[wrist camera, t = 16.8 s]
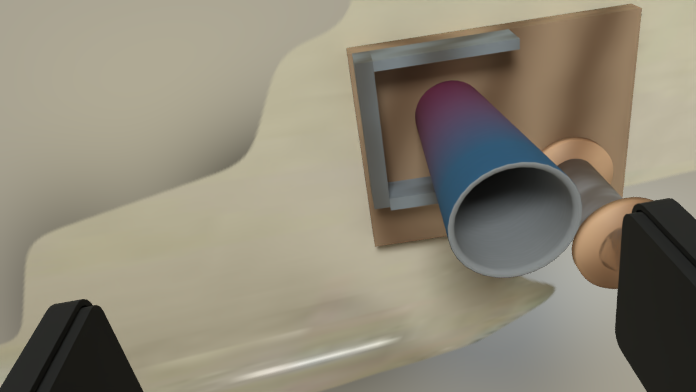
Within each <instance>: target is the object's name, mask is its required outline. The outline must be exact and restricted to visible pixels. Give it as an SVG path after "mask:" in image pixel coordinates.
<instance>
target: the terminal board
mask: <svg viewBox="0 0 696 392" xmlns="http://www.w3.org/2000/svg"><path fill="white" fill-rule="evenodd" d="M641 11H642V8H640V7H637V6H635V5H633V4H627V5H621V6H614V7H608V8H601V9H595V10H589V11H582V12H576V13H569V14H563V15H557V16H550V17H544V18H537V19H531V20H524V21H518V22H512V23H505V24H499V25H492V26H486V27H480V28H473V29H467V30H460V31H454V32H447V33H441V34H435V35H428V36H422V37H415V38H409V39H403V40H396V41H390V42H383V43H377V44H370V45H364V46H358V47H351V48H347V55H348V62H349V69H350V76H351V83H352V90H353V97H354V104H355V111H356V118H357V125H358V132H359V138H360V145H361V152H362V159H363V166H364V173H365V180H366V187H367V194H368V201H369V208H370V215H371V222H372V229H373V236H374V242H375V247H376V246H383V245H390V244H396V243H403V242H410V241H417V240H424V239H430V238H437V237H444V236H447V233H446V229H445V226H444V222H443V219H442V215H441V212H440V208H439V204H438V201H437V197H436V194H435V190H434V187H433V183H432V180H431V176H430V172H429V169H428V165H427V162H426V158H425V155H424V151H423V147H422V144H421V140H420V137H419V133H418V130H417V126H416V122H415V111H416V107H417V104H418V102H419V100H420V98H421V97H422V96H423V95H424V93H425V92H426V91H427V90H429V89H430V88H431V87H433V86H434V85H436V84H438V83H441V82H444V81H450V80H458V81H462V82H465V83H467V84H470V85H471V86H472V87H474V88H475V89H476V90H477V91H478V92H479V93H480V94H481V95H482V96H484V97H485V98H486V99H487V100H488V101H489V102H490V103H491V104H492V105H493V106H494V107H495V108H496V109H497V110H498V111H499V112H500V113H502V114H503V115H504V116H505V117H506V118H507V119H508V120H509V121H510V122H511V123H512V124H513V125H514V126H515V127H516V128H517V129H519V130H520V131H521V132H522V133H523V134H524V135H525V136H526V137H527V138H528V139H529V140H530V141H531V142H532V143H533V144H534V145H536V146H537V147H538V148H539V149H540V150H541V151H542V152H543V153H544V154H545V155H546V156H547V157H548V158H549V159H550V160H551V161H553V162H554V163H555V164H556V165H557V166H558V167H559V168H560V169H561V170H562V171H563V172H564V173H565V174H566V175H567V176H568V177H569V178H570V179H571V180H572V181H573V183H574V184H575V185H576V187H577V189H578V192H579V194H580V197H581V202H582V218H581V222H580V225H579V229H578V231H577V233H576V235H575V237H574V240H573V245H572V256H573V260H574V262H575V264H576V266H577V267H578V269H579V271H580V272H581V274H582V275H583V276H584V277H585V279H587V280H588V281H589V282H591V283H592V284H594V285H597V286H599V287H603V288H609V289H618V280H619V265H620V250H621V236H622V222H623V217H624V215H626V214H629V213H632V209H633V207H634V205H636V204H638V203H644V202H650V201H653V200H650V199H646V198H641V197H631V198H624V199H623V198H622V196H623V187H624V177H625V167H626V157H627V148H628V138H629V128H630V118H631V109H632V99H633V89H634V80H635V70H636V60H637V50H638V41H639V31H640V21H641Z"/></svg>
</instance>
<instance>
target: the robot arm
mask: <svg viewBox="0 0 696 392" xmlns="http://www.w3.org/2000/svg"><path fill="white" fill-rule="evenodd" d="M615 333H616V339H617V342H618V345H619V347H620V349H621V351H622V353H623V354H624V356H625V357H626V359H627V361H628V362H629V364H630V365H631V367H632V369H633V370H634V372H635V373H636V375H637V377H638V378H639V380H640V381H641V383H642V384H643V386H644V388H645V389H646V391H647V392H696V219H694V217H693V216H692V215H691V214H689V213H688V212H687V211H686V210H685V209H684V208H683V207H682V206H681V205H680V204H679V203H678V202H676V201H675V200H673V199H670V198H667V199H662V200H655V201H650V202H644V203H638V204H636V205H634V207H633V209H632V213H629V214H626V215H624V217H623V222H622V236H621V250H620V265H619V280H618V296H617V309H616V324H615ZM0 392H143V390H142V388H141V386H140V384H139V382H138V380H137V378H136V376H135V374H134V372H133V370H132V368H131V366H130V364H129V362H128V360H127V358H126V356H125V354H124V352H123V350H122V348H121V346H120V344H119V342H118V340H117V338H116V336H115V334H114V332H113V330H112V328H111V326H110V324H109V322H108V320H107V318H106V316H105V314H104V311H103V310H102V308H101V307H100V306H97V305H94V306H93V305H92V304H91V302H89V301H88V300H85V299H81V300H76V301H70V302H64V303H58V304H54V305H52V306H50V307H49V309H48V310H47V311H46V313H45V315H44V316H43V318H42V320H41V321H40V323H39V325H38V326H37V328H36V330H35V331H34V333H33V335H32V336H31V338H30V340H29V341H28V343H27V344H26V346H25V348H24V349H23V351H22V353H21V354H20V356H19V358H18V359H17V361H16V363H15V364H14V366H13V368H12V369H11V371H10V373H9V374H8V376H7V378H6V379H5V381H4V383H3V384H2V386H1V388H0Z"/></svg>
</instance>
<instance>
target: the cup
mask: <svg viewBox="0 0 696 392" xmlns="http://www.w3.org/2000/svg"><path fill="white" fill-rule="evenodd" d="M415 122H416V126H417V130H418V133H419V137H420V140H421V144H422V147H423V151H424V155H425V158H426V162H427V165H428V169H429V172H430V176H431V180H432V183H433V187H434V190H435V194H436V197H437V201H438V204H439V208H440V212H441V215H442V219H443V222H444V226H445V229H446V233H447V237H448V240H449V243H450V246H451V249H452V251H453V252H454V254H455V256H456V257H457V259H458V260H459V261H461V262H462V263H463V264H464V265H465V266H466V267H468V268H469V269H471V270H473V271H474V272H477V273H479V274H482V275H485V276H491V277H497V278H507V277H515V276H522V275H525V274H528V273H531V272H534V271H536V270H538V269H540V268H542V267H544V266H546V265H547V264H549V263H550V262H552V261H553V260H555V259H556V258H557V257H558V256H559V255H560V254H561V253H562V252H563V251H565V250H566V248H567V247H568V246H569V244H570V243H571V242H572V240H573V239H574V237H575V235H576V233H577V231H578V229H579V225H580V222H581V218H582V202H581V197H580V194H579V192H578V189H577V187H576V185H575V184H574V183H573V181H572V180H571V179H570V178H569V177H568V176H567V175H566V174H565V173H564V172H563V171H562V170H561V169H560V168H559V167H558V166H557V165H556V164H555V163H554V162H553V161H551V160H550V159H549V158H548V157H547V156H546V155H545V154H544V153H543V152H542V151H541V150H540V149H539V148H538V147H537V146H536V145H534V144H533V143H532V142H531V141H530V140H529V139H528V138H527V137H526V136H525V135H524V134H523V133H522V132H521V131H520V130H519V129H517V128H516V127H515V126H514V125H513V124H512V123H511V122H510V121H509V120H508V119H507V118H506V117H505V116H504V115H503V114H502V113H500V112H499V111H498V110H497V109H496V108H495V107H494V106H493V105H492V104H491V103H490V102H489V101H488V100H487V99H486V98H485V97H484V96H482V95H481V94H480V93H479V92H478V91H477V90H476V89H475V88H474V87H472V86H471V85H470V84H467V83H465V82H462V81H458V80H450V81H444V82H441V83H438V84H436V85H434V86H433V87H431V88H430V89H429V90H427V91H426V92H425V93H424V95H423V96H422V97H421V98H420V100H419V102H418V104H417V107H416V111H415Z"/></svg>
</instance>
